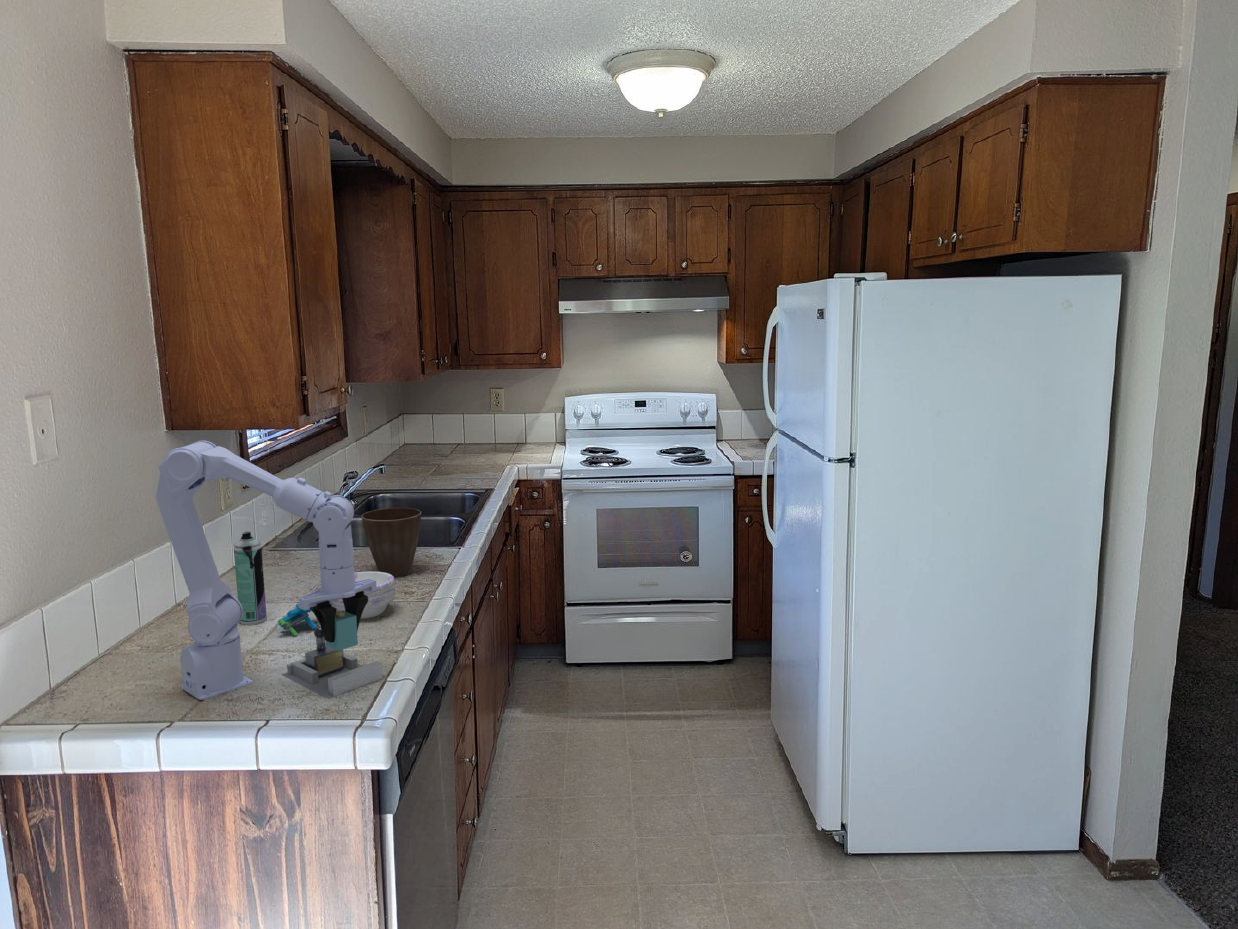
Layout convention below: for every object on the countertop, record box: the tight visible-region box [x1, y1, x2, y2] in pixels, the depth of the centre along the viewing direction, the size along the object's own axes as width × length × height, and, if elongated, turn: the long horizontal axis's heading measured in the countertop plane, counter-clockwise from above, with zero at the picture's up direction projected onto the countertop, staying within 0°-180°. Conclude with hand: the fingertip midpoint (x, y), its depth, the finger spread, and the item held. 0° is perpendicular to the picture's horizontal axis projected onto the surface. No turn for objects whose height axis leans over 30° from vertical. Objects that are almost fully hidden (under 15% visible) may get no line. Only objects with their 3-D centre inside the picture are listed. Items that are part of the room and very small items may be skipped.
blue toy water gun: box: [277, 603, 318, 637], centre depth 180 cm, size 11×6×10 cm
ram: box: [304, 626, 344, 677], centre depth 157 cm, size 6×4×8 cm, turn 140°
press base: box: [281, 651, 388, 700], centre depth 155 cm, size 12×16×3 cm
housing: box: [325, 610, 359, 651], centre depth 152 cm, size 4×4×6 cm
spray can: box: [233, 531, 267, 626], centre depth 184 cm, size 6×6×20 cm
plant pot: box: [361, 507, 422, 578], centre depth 219 cm, size 15×15×16 cm
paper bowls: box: [330, 570, 396, 620], centre depth 189 cm, size 15×15×8 cm
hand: (341, 637), depth 153 cm, fingers closed on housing, 4 cm apart
